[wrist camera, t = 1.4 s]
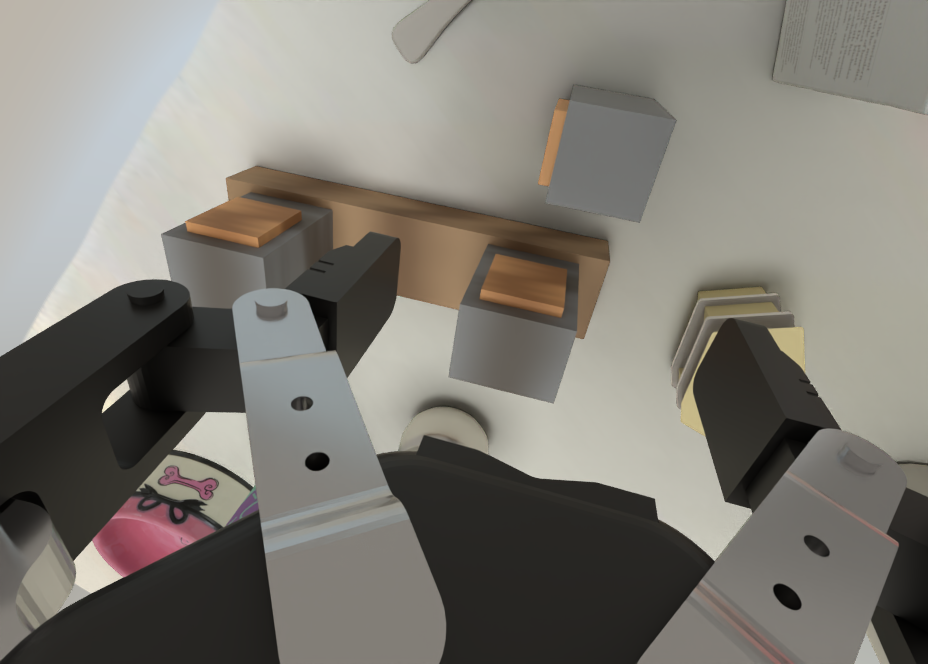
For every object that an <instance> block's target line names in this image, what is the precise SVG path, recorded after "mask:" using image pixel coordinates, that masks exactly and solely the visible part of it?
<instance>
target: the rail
mask: <svg viewBox="0 0 928 664" xmlns="http://www.w3.org/2000/svg"><path fill="white" fill-rule="evenodd" d="M226 184H227V191H228V199H229V201H228V202H225V203H223V204H221V205H219V206H217V207H215V208H213V209H210V210H208V211H206V212H204V213H202V214H200V215H198V216H196V217H193V218H191V219H189V220H187V221H185V222H186V223H184V224H182V225H180V226H177V227H175V228H173V229H171V230H169V231H167V232H165V233H163V234H161V236H162V241H163V245H164V250H165V254H166V259H167V263H168V268H169V272H170V277H171V281H173V282H177V283H179V284H182V285H183V286H185V287H186V288H187V289H188V290H189V292H190V297H191V303H192V307H209V308H226V309H232V307H233V304H234V302H235V301H236V300H237V299H238V298H239V297H241V296H242V295H244V294H246V293H249V292H252V291H255V290H260V289H267V288H278V289H285V288H286V287H287V286H288V285H290V284H291V283H292V282H293V281H294V280H296V279H297V278H298V277H299V276H300V275H301V274H303V273H304V272H305V271H306V270H307V269H310V267H311V266H312V265H313V264H314V263H316V262H318V261H319V259H320V258H321V257H323V256H324V255H325V254H326V253H327V252H329V251H330V250H333V249H336V248H339V247H342V246H345V245H349V246H354V245H355V244H356V243H358V242H359V241H360V240H361V239H362V238H363V237H364V236H365V235H366V234H367V233H369V232H370V231H371V232H376V233H380V234H384V235H388V236H392V237H397V238H399V239H400V241H401V253H400V264H399V275H398V286H397V296H402V297H406V298H410V299H414V300H419V301H423V302H427V303H431V304H436V305H440V306H444V307H448V308H453V309H457V310H459V313H458V319H457V326H456V332H455V338H454V345H453V351H452V357H451V364H450V370H449V376H448V377H450V378H454V379H458V380H462V381H466V382H470V383H474V384H478V385H482V386H486V387H490V388H494V389H498V390H502V391H506V392H510V393H514V394H518V395H522V396H526V397H530V398H534V399H538V400H542V401H546V402H550V403H554V401H555V398H556V395H557V392H558V388H559V385H560V382H561V379H562V376H563V373H564V370H565V367H566V364H567V361H568V358H569V355H570V352H571V349H572V346H573V342H574V339H575V337H576V338H580V339H584V337H585V334H586V331H587V328H588V325H589V322H590V319H591V316H592V313H593V310H594V307H595V304H596V302H597V299H598V296H599V293H600V290H601V287H602V284H603V281H604V278H605V275H606V272H607V269H608V266H609V263H610V256H609V247H608V241H605V240H601V239H596V238H591V237H587V236H582V235H577V234H573V233H568V232H563V231H558V230H554V229H549V228H544V227H540V226H535V225H530V224H526V223H521V222H516V221H511V220H507V219H502V218H497V217H493V216H488V215H483V214H479V213H474V212H469V211H465V210H460V209H455V208H450V207H446V206H441V205H436V204H432V203H427V202H422V201H418V200H413V199H408V198H403V197H399V196H394V195H389V194H385V193H380V192H375V191H371V190H366V189H361V188H357V187H352V186H347V185H342V184H338V183H333V182H328V181H324V180H319V179H314V178H310V177H305V176H300V175H295V174H291V173H286V172H281V171H277V170H272V169H267V168H263V167H258V166H255V167H252V168H250V169H247V170H245V171H242V172H240V173H237V174H235V175H232V176H230V177H227V178H226Z"/></svg>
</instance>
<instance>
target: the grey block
mask: <svg viewBox="0 0 928 664" xmlns="http://www.w3.org/2000/svg"><path fill="white" fill-rule="evenodd" d="M675 123H676V119H675V118H674V117H673V116H672V115H671V114H669V113H668V112H667V111H666V110H665V109H664V108H663V107H662V106H661V105H660V104H659V103H658V102H657V101H656V100H655V99H651V98H646V97H640V96H635V95H629V94H624V93H618V92H613V91H607V90H602V89H596V88H591V87H585V86H579V85H573V89H572V93H571V97H570V100H565V99H560V98H559V100H558V103H557V105H556V108H555V110H554V115H553V119H552V123H551V128H550V132H549V137H548V141H547V146H546V150H545V154H544V159H543V163H542V168H541V172H540V177H539V181H538V184H540V185H544V186H549V189H548V193H547V197H546V202H545V203H547V204H552V205H557V206H562V207H566V208H571V209H576V210H581V211H586V212H590V213H595V214H600V215H605V216H610V217H615V218H619V219H624V220H629V221H634V222H639V223H640V221H641V218H642V215H643V212H644V210H645V207H646V204H647V201H648V198H649V196H650V193H651V190H652V187H653V184H654V182H655V179H656V176H657V173H658V171H659V168H660V165H661V162H662V159H663V157H664V154H665V151H666V148H667V145H668V143H669V140H670V137H671V134H672V132H673V129H674V126H675Z"/></svg>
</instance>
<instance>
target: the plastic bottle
mask: <svg viewBox="0 0 928 664" xmlns="http://www.w3.org/2000/svg"><path fill="white" fill-rule="evenodd" d="M424 435H426V436H430V437H433V438H437V439H440V440H444V441H448V442H451V443H455V444H459V445H462V446H466V447H469V448H473V449H477V450H480V451H482V452H484V453H486V454H488V439H487V436H486V434H485V432H484V430H483V429H482V427H481V426H480V424H479V423H478V422H477V421H476V420H475V419H474V418H473V417H472V416H470V415H469V414H468V413H466V412H464V411H462V410H459V409H456V408H452V407H442V406H441V407H434V408H431V409H428V410H425V411H422V412H421V413H419V414H417V415H416V416H415V417H414V418H413V419H412V421H411V422H410V423H409V425H408V426H407V428H406V429H405V431H404V432H403V434H402V438H401V442H400V445H399V449H398V451H418V448H419V446H420V443H421V441H422V438H423V436H424Z"/></svg>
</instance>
